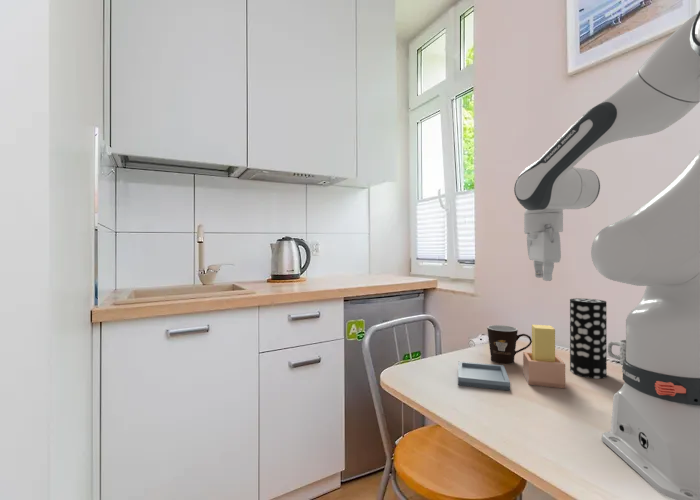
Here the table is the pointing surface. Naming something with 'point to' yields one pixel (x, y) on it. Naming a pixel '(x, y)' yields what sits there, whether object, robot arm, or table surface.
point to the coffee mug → (504, 343)
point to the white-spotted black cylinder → (588, 338)
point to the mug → (622, 350)
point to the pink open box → (544, 372)
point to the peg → (543, 343)
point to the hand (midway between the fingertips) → (543, 279)
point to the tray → (483, 375)
